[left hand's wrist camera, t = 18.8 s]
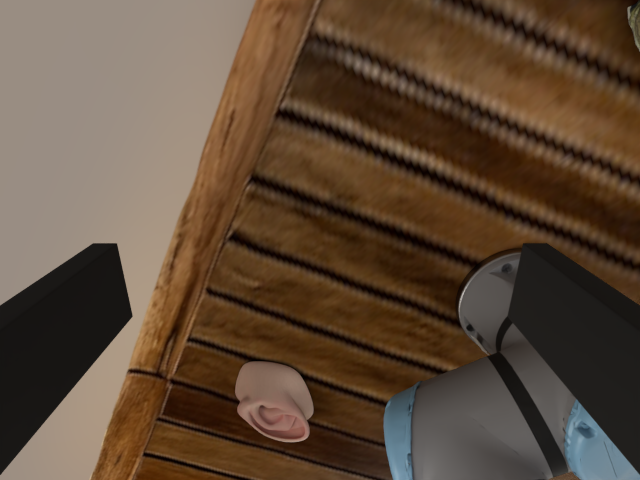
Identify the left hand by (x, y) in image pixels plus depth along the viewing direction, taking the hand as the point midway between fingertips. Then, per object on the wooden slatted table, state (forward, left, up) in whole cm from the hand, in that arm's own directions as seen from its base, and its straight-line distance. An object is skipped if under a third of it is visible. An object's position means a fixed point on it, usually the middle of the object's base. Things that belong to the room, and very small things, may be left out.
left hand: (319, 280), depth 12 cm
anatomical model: (-6, +38, -34) cm, 51 cm away
